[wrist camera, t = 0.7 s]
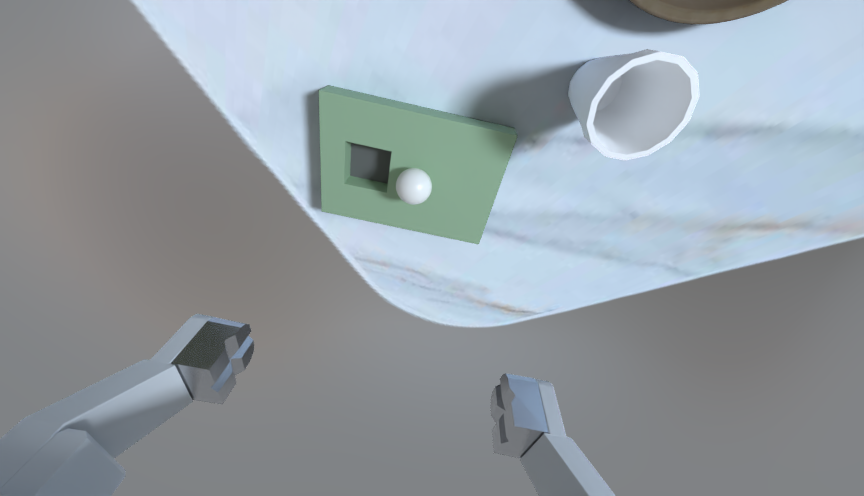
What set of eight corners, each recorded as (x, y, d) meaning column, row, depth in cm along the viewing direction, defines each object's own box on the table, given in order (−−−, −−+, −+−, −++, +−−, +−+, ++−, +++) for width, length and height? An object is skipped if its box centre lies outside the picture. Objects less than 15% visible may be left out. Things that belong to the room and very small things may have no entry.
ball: (401, 158, 44) (395, 173, 40) (436, 166, 44) (433, 181, 40) (397, 190, 47) (390, 206, 43) (429, 197, 47) (426, 214, 43)
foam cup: (651, 77, 38) (721, 100, 28) (588, 138, 43) (627, 177, 33) (601, 23, 36) (657, 25, 25) (540, 94, 40) (566, 121, 30)
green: (328, 85, 42) (318, 90, 39) (514, 128, 43) (517, 135, 40) (329, 201, 53) (321, 211, 50) (477, 232, 54) (478, 244, 51)
